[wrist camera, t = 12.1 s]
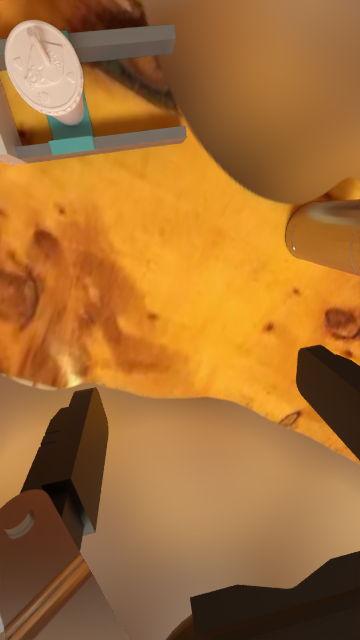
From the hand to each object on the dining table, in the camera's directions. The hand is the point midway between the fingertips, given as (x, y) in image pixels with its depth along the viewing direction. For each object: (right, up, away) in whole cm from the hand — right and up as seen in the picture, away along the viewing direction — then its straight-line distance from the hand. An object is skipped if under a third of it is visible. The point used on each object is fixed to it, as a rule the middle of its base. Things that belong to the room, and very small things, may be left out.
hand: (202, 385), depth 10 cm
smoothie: (-15, +29, +22) cm, 39 cm away
